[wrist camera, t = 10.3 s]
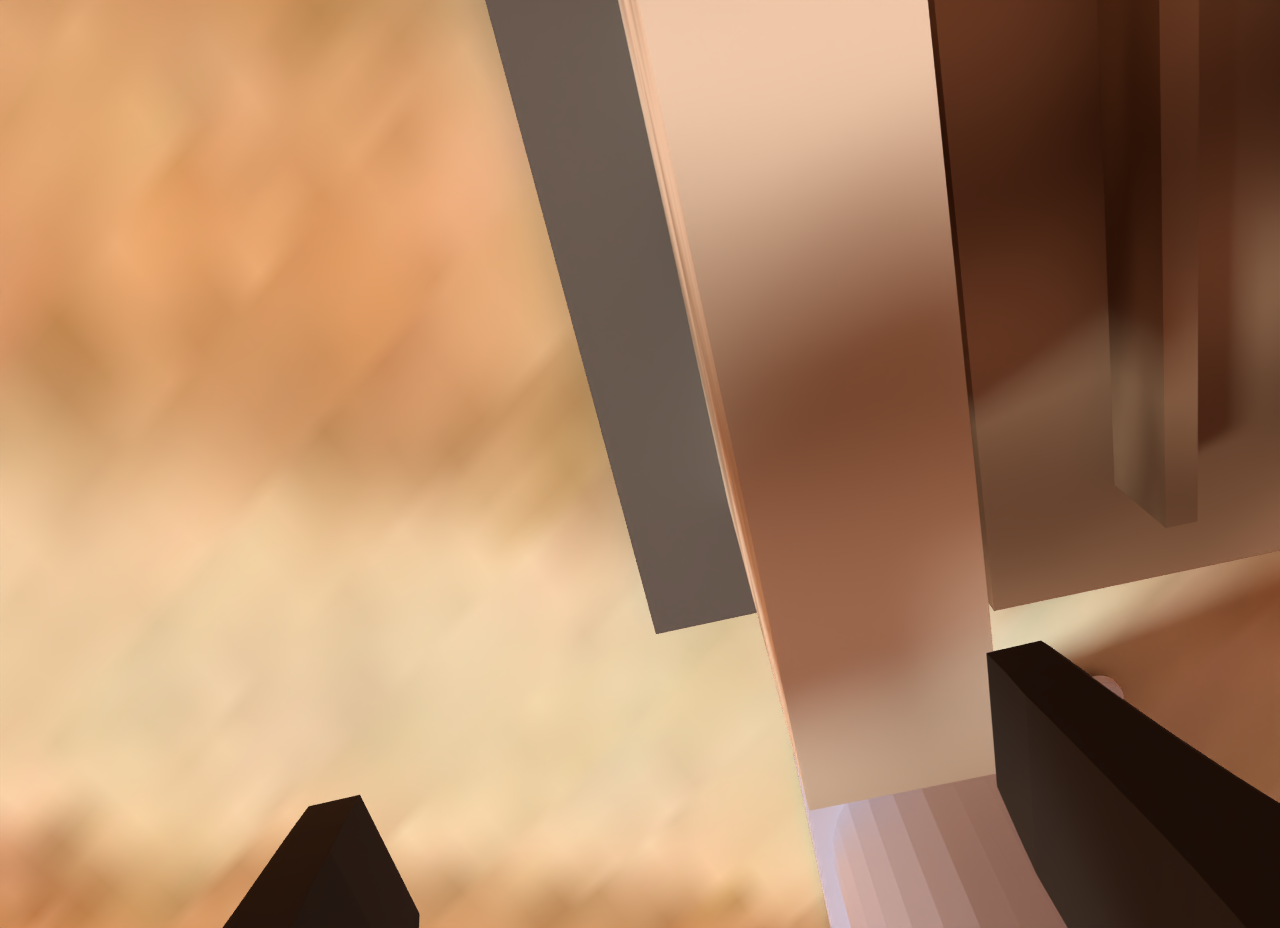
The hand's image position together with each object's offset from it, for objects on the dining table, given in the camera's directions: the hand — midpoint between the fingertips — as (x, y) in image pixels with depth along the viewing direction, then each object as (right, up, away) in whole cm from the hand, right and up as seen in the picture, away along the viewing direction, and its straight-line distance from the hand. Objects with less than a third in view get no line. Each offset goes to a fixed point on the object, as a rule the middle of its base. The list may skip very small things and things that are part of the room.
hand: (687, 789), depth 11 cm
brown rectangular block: (+1, +8, +8) cm, 11 cm away
